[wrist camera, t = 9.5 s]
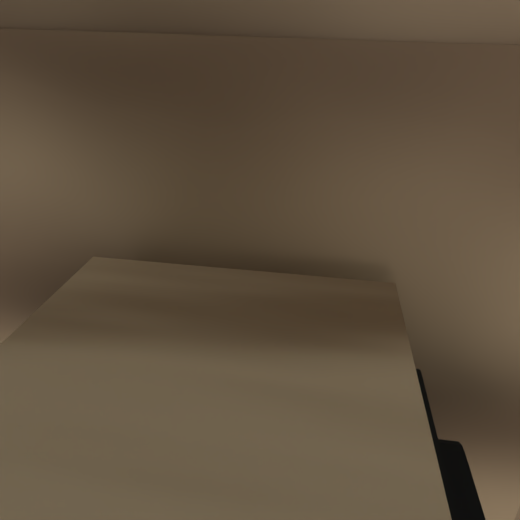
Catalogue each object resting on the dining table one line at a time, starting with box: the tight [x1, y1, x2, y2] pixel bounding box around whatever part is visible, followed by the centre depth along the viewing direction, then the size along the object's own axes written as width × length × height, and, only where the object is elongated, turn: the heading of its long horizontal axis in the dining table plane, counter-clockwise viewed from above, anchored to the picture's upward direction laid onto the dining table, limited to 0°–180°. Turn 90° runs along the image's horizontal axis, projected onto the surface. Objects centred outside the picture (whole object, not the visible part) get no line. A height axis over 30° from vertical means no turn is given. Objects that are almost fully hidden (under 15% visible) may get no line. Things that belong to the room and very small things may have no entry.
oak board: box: [0, 0, 520, 520], centre depth 13 cm, size 16×16×3 cm
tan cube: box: [0, 257, 452, 520], centre depth 8 cm, size 6×6×6 cm
